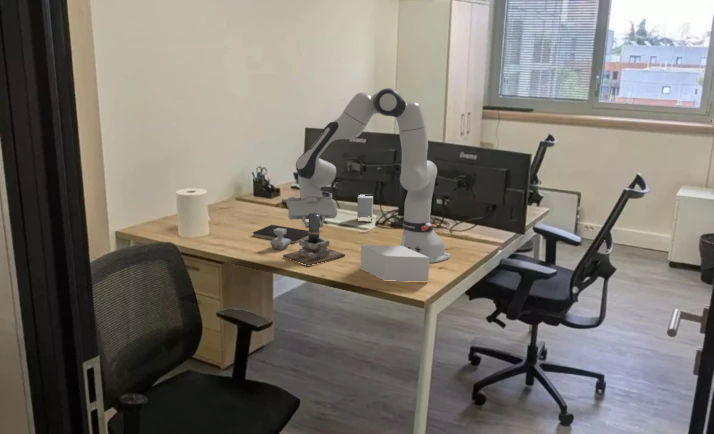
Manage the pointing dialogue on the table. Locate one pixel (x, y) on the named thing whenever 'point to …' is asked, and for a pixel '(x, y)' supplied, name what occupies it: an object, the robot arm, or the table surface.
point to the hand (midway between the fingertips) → (314, 227)
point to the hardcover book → (290, 234)
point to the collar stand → (313, 252)
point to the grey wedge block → (394, 263)
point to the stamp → (280, 239)
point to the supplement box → (365, 206)
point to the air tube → (314, 228)
